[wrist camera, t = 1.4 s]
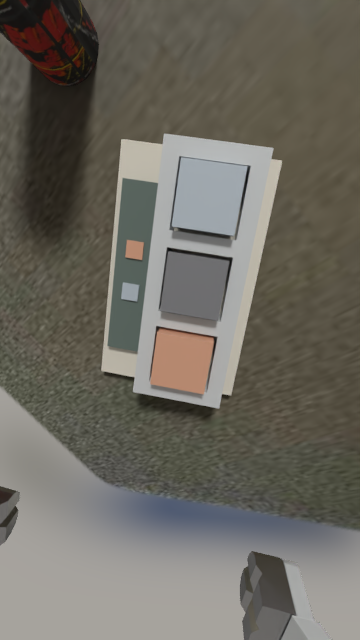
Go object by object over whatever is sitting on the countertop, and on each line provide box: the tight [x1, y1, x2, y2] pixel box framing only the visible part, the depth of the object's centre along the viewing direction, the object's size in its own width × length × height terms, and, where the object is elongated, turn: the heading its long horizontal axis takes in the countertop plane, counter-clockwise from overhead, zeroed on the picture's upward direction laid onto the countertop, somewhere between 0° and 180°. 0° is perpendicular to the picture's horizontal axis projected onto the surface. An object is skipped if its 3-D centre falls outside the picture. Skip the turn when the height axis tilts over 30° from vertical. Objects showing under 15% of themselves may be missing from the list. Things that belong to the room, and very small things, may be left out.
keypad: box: [101, 134, 282, 408], centre depth 28 cm, size 14×22×4 cm, turn 171°
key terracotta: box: [150, 327, 214, 394], centre depth 28 cm, size 5×5×2 cm
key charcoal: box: [160, 251, 229, 321], centre depth 26 cm, size 5×5×2 cm
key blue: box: [172, 157, 248, 236], centre depth 24 cm, size 5×5×2 cm
